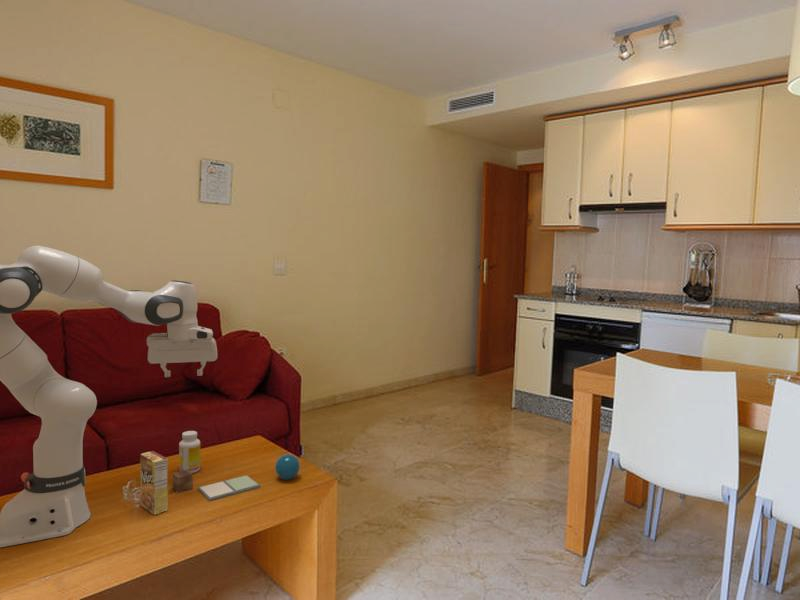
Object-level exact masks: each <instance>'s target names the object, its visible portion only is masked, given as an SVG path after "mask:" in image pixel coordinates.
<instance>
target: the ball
mask: <svg viewBox="0 0 800 600" xmlns="http://www.w3.org/2000/svg"><path fill="white" fill-rule="evenodd" d="M300 469H301V462H300V460H299V459H298V457H297V456H295V455H294V454H290V453H287V454H285V453H284V454H283V455H281V456H280V457H279V458H278V459H277V460H276V462H275V467H274V471H275V473H276V475H277V476H278V478H280V479H282V480H284V481H285V480H286V481H287V480H292V479H294V478H295V477H297V475H298V474H299V473H300Z"/></svg>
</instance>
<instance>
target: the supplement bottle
mask: <svg viewBox="0 0 800 600" xmlns="http://www.w3.org/2000/svg"><path fill="white" fill-rule="evenodd" d="M181 437H182V440H181V441H179V443H178V452H179V453H178V458H179V459H178V461H179V462H178V464H179V471H183V470H187V469H188V470H189V471H190V472H191V473H192V474H194V473H197V472H198V471H200V470H201V467H202V466H201V464H202V463H201V462H202V461H201V458H202V456H201V440H200V439H198V438H197V437H198V431H196V430H187V431H184V432H182V434H181Z"/></svg>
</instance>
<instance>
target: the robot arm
mask: <svg viewBox="0 0 800 600" xmlns="http://www.w3.org/2000/svg"><path fill="white" fill-rule="evenodd" d="M42 291H44V292H47V293H49V294H50V293H51V294H52V295H55V296H58V297H61V298H65V299H69V300H73V301H78V302H89V301H91V302H95V303H98V304H100V305H103V306H105V307H108V308H111V309H113V310H116V311H117V312H118V313H119V314H120V315H122V317H123V318H124V319H126V320H127V321H129V322H130V323H133V324H144V325H150V326H151V325H152V326H156V327H157V326H158V327H159V326H163V325H166V328H167V332H160V333H159V332H158V333H157V332H153V333H151V334H149V335H148V336H147V338H146V345H147V347H148V350H147V361H148V363H149V364H152V365H153V364H160V368H161V369H162V371H163V372H164V378H170V377H171V370H170V369H169V370H168V369H167V364H171V363H172V364H173V363H175V364H176V363H177V364H178V363H197V362H198V363H200V365H201V367H200V368H199V369H198V368H197V369H196V374H197V377H199V376H201V377H202V376H203V374H204V373H203V371H204V368H205V366H206V364H207V362H215V361H217V359H218V347H217V345H218V344H217V341H216V339H215V338H214V337H213V335H214V332H213V330H212V329H211V328H207V327H204V326H202V325H201V326H200V325H199V324H198V323H199V322H198V318H197V312H198V295H197V290H196V286H195V285H194V283H191V282H190V281H184V280H170V281H168V283H167V284H165V285H164V286H163V287H161V288H160V289H157V290H155V291H153V292H151V291H145V290H142V289H141V290H139V289H136V290H135V289H134V290H133V289H131V290H125V289H123V288H121V287H119V286H117V285H115V284H112V283H109V282H106V281H105V280H104V276H103V272H102V271H101V269H100V268H99V267H98V266H96V265H95V264H93V263H91V262H90V261H87V260H85V259H83V258H81V257H78V256H76V255H74V254H70V253H68V252H66V251H62V250H59V249H57V248H51V247H48V246H43V245H32V246H29V247H27V248H25V249H24V250H23V251H22V252H21V253H20V254H19V256H18V257H17V260H16V261H14V263H12V264H11V263H10V264H5V263H0V382H1V383H2V384H3V385H4V386H5V387H6V388H7V389H8V391H9V392H10V393H11V394H12V395H13V397H14V398H15V399H16V400H17V401H18V402H19V404H20V405H21V406H22V407H23V408H24V410H26V411H28V413H30V414H31V415H32V414H33V415H34V416H37V417H39V418H40V419H41V427H40V432H39V434H38V435H39V436H38V438H37V439H35V441H34V443H33V446H32V452H33V453H32V454H33V455H32V457H33V458H32V459H33V463H32V464H33V472H32V473H29V472H23V473H22V474H21V475H20V478H21V481H22V482H23V483H24V485H23V486H24V489H22V490H21V491H20V492H19V493H18V494H16V495H15V496H14V497H12V498H11V499H10V500H9V501H8V502H6V503H5V504H4V506H3V507H2V509H1V510H0V548H5V547H10V546H15V545H20V544H21V545H22V544H26V543H30V542H31V543H32V542H36V541H42V540H48V539H52V538H56V537H58V538H59V537H62V536H67V535H69V534H71V533H72V532H73V531H74V530H75V529H76V528H77V527H80V526H82V524H85V523H86V522H88V521H89V519H90V518H91V515H92V514H91V511H90V509H89V505H88V502H87V497H86V492H85V486H86V469H85V468H86V467H85V466H84V464H83V463H84V462H83V460H84V459H83V454H84V453H83V440H84V432H85V431H86V430H85V429H86V426H87V422H88V420H89V419H90V418H91V417H92V416H93V415H94V413H95V411H96V409H97V405H98V400H97V396H96V394H95V392H94V391H93V390H92V389H90V388H89V387H88V386H86V385H85V384H84V383H82V382H78V381H75V380H71V379H68V378H66V377H65V376H62V375H61V374H59V372H57V371H56V370H55V369H54V367H53V366H52V364H51V363H50V362H49V360H48V359H49V358H48V355H47V354H46V353H45V351H44V350H43V349H42V348H41V347H40V346H38V344H37V343H36V342H35V341H33V340H32V339H31V337H30V336H29V335H28V334H27V333H26V332H25V331H24V330H23V329H21V328H20V326H18V324H16V322H15V321H14V319H13V317H12V314H16V313H20V312H22V311H24V310H25V309H27V308H28V307H29V306H30V305H31V304H32V303H33V301H34V300H35V298H36V297H37V296H38V295H39V294H40V293H41V292H42Z"/></svg>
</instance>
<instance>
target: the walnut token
mask: <svg viewBox="0 0 800 600" xmlns="http://www.w3.org/2000/svg"><path fill="white" fill-rule="evenodd" d="M193 475H194V473H191V472H190V471H189V470H188V469H187V470H183V471H180V470H179V471H175V472H172V488H174V489H173V490H174V491H175V492H176V493H177V494H181V492H182V493H184V492H188V491H192V489H193V488H194V481H193V480H194V479H193V478H194V476H193ZM193 490H194V489H193Z"/></svg>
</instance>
